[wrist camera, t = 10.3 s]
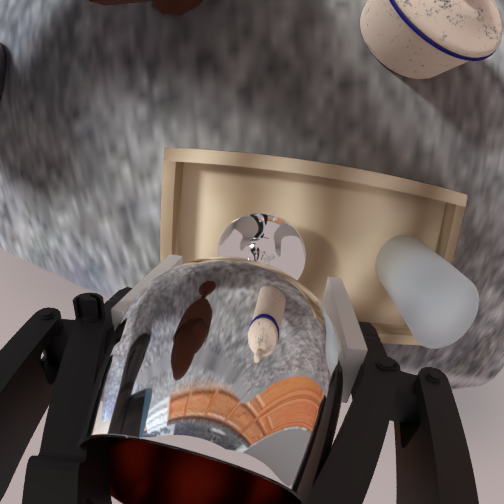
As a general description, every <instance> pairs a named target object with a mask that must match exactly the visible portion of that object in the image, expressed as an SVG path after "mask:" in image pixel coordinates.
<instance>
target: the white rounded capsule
mask: <svg viewBox="0 0 504 504" xmlns="http://www.w3.org/2000/svg"><path fill="white" fill-rule="evenodd" d="M375 269H376V274H377V277H378V279H379V281H380V282H381V284H382V285H383V287H384V288H385V290H386V291H387V293H388V295H389V296H390V298H391V299H392V301H393V303H394V304H395V306H396V307H397V309H398V311H399V312H400V314H401V316H402V317H403V319H404V321H405V322H406V324H407V326H408V327H409V329H410V331H411V333H412V334H413V336H414V338H415V339H416V341H417V342H418V343H419V344H420V345H422V346H424V347H426V348H430V349H438V348H443V347H446V346H448V345H451V344H452V343H454V342H456V341H457V340H459V339H460V338H461V337H462V336H463V335H464V334H465V333H466V332H467V331H468V330H469V328H470V327H471V325H472V324H473V322H474V320H475V318H476V315H477V312H478V308H479V294H478V290H477V288H476V286H475V285H474V284H473V283H472V281H470V280H469V279H468V278H467V277H466V276H464V275H463V274H462V273H461V272H460V271H458V270H457V269H456V268H455V267H454V266H452V265H451V264H450V263H449V262H447V261H446V260H445V259H444V258H442V257H441V256H440V255H439V254H437V253H436V252H435V251H433V250H432V249H431V248H430V247H428V246H427V245H426V244H424V243H423V242H422V241H420V240H419V239H418V238H416V237H414V236H411V235H399V236H396V237H393V238H391V239H390V240H388V241H387V242H386V243H385V244H384V245H383V246H382V248H381V249H380V251H379V253H378V255H377V258H376V263H375Z"/></svg>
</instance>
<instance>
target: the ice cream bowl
mask: <svg viewBox="0 0 504 504" xmlns="http://www.w3.org/2000/svg"><path fill="white" fill-rule="evenodd" d="M89 1H90V2H94V3H97V4H101V5H117V4H125V3H134V2H146V1H152V2H153V7H155V8H156V9H157V10H159V11H160V12H161V13H162V14H182V13H184V12H186V11H188V10H190V9H192V8H194V7H196V6H198V5H199V4H200V3H201V1H202V0H89Z"/></svg>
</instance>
